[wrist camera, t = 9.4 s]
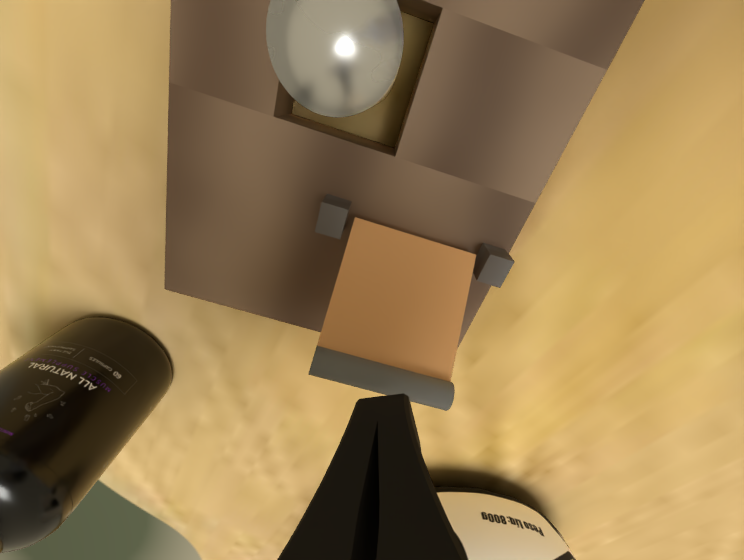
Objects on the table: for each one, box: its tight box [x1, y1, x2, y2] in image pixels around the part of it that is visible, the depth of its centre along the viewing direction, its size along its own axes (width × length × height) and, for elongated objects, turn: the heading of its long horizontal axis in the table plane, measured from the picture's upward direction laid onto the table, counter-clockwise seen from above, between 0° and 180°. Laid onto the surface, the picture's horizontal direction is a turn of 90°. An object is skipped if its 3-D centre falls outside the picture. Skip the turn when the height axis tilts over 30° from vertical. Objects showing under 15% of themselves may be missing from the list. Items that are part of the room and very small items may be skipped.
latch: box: [309, 217, 476, 411], centre depth 13 cm, size 5×6×1 cm
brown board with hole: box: [165, 0, 645, 349], centre depth 14 cm, size 14×16×4 cm
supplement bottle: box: [0, 317, 172, 553], centre depth 16 cm, size 7×7×12 cm
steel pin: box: [266, 0, 404, 117], centre depth 11 cm, size 3×3×7 cm
